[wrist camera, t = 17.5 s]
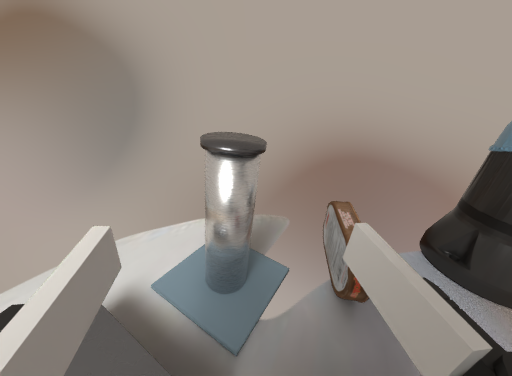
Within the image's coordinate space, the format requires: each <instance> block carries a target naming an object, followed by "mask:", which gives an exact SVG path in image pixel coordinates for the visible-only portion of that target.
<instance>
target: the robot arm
mask: <svg viewBox="0 0 512 376" xmlns="http://www.w3.org/2000/svg"><path fill="white" fill-rule="evenodd" d="M489 150H490V151H491V152H490V153H489V155H488V156H487V158H486V159H485V161H484V163H483V164H482V166H481V167H480V169H479V170H478V172H477V174H476V175H475V177H474V178H473V180H472V182H471V183H470V185H469V186H468V188H467V189H466V191H465V193H464V194H463V196H462V198H461V199H460V201H459V203H458V204H457V206H456V207H455V208H454V209H453V210H452V211H450V212H449V213H448V214H447V215H445V216H444V217H443V218H441V219H440V220H439V221H437V222H436V223H435V224H433V225H432V226H431V227H430V228H428V229H427V230H426V232H425V233H424V235H423V237H422V238H421V241H420V248H421V250H422V252H423V254H424V255H425V256H426V258H427V259H428V260H429V261H430V262H431V263H432V264H433V265H434V266H435V267H436V268H437V269H439V270H440V271H441V272H442V273H444V274H445V275H446V276H448V277H449V278H450V279H452V280H453V281H455V282H456V283H458V284H460V285H461V286H463V287H465V288H466V289H468V290H470V291H472V292H474V293H476V294H477V295H479V296H482V297H484V298H486V299H488V300H490V301H493V302H495V303H498V304H500V305H503V306H506V307H509V308H512V121H511V122H510V123H509V124H508V125H507V126H506V128H505V129H504V131H503V132H502V133H501V135H500V136H499V138H498V139H497V141H496V142H495V144H494V145H492V146H491V147H490V148H489ZM343 259H344V261H345V262H346V264H347V265H348V267H349V268H350V270H351V271H352V273H353V274H354V276H355V277H356V278H357V280H358V281H359V283H360V284H361V286H362V287H363V289H364V290H365V292H366V293H367V295H368V296H369V298H370V299H371V301H372V302H373V304H374V305H375V307H376V308H377V310H378V311H379V313H380V314H381V316H382V317H383V319H384V320H385V322H386V323H387V325H388V326H389V328H390V329H391V331H392V332H393V333H394V335H395V336H396V338H397V339H398V341H399V342H400V344H401V345H402V347H403V348H404V350H405V351H406V353H407V354H408V356H409V357H410V359H411V360H412V362H413V363H414V365H415V366H416V368H417V369H418V371H419V372H420V374H421V375H422V376H512V352H507V351H505V350H504V349H503V348H502V347H501V346H500V345H498V344H497V343H496V342H495V341H494V340H493V339H492V338H491V337H490V336H489V335H488V334H487V333H486V332H485V331H484V330H483V329H482V328H481V327H480V326H479V325H478V324H477V323H476V322H475V321H473V320H472V319H471V318H470V317H469V316H468V315H467V314H466V313H465V312H464V311H463V310H462V309H460V308H459V306H458V305H457V304H456V303H455V302H454V301H453V300H450V297H449V296H447V295H446V294H445V293H444V292H443V291H442V290H441V289H440V288H439V287H438V286H437V285H435V284H434V283H432V282H431V281H429V280H428V279H426V278H422V277H421V276H420V275H419V274H418V273H417V272H416V271H415V270H414V269H413V268H412V267H411V266H410V265H409V264H408V263H407V262H406V261H405V260H404V259H403V258H402V257H401V256H400V255H399V254H398V253H397V252H396V251H395V250H393V248H392V247H391V246H390V245H389V244H388V243H387V242H386V241H385V240H384V239H383V238H382V237H381V236H380V235H379V234H378V233H376V231H375V230H374V229H373V228H372V227H370V225H368V223H355V226H354V228H353V231H352V234H351V236H350V239H349V242H348V244H347V247H346V250H345V252H344V255H343ZM120 269H121V263H120V259H119V256H118V252H117V248H116V244H115V241H114V237H113V233H112V230H111V226H93V227H92V228H91V229H90V230H89V231H88V233H87V234H86V235H85V236H84V237H83V238H82V239H81V241H80V242H79V243H78V244H77V245H76V246H75V247H74V249H73V250H72V251H71V252H70V253H69V254H68V255H67V257H66V258H65V259H64V260H63V261H62V262H61V263H60V265H59V266H58V267H57V268H56V269H55V270H54V271H53V273H52V274H51V275H50V276H49V277H48V278H47V280H46V281H45V282H44V283H43V284H42V285H41V286H40V288H39V289H38V290H37V291H36V292H35V293H34V294H33V296H32V297H31V298H30V299H29V300H28V301H27V302H26V304H18V305H11V306H10V307H8V308H7V309H6V310H4V311H3V312H1V313H0V376H64V374H65V372H66V370H67V369H68V367H69V365H70V363H71V361H72V359H73V357H74V355H75V354H76V352H77V350H78V348H79V346H80V344H81V342H82V340H83V339H84V337H85V335H86V333H87V331H88V329H89V327H90V325H91V324H92V322H93V320H94V318H95V316H96V314H97V312H98V310H99V308H100V307H101V305H102V303H103V301H104V299H105V297H106V295H107V293H108V292H109V290H110V288H111V286H112V284H113V282H114V280H115V278H116V277H117V275H118V273H119V271H120Z"/></svg>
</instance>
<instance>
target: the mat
mask: <svg viewBox="0 0 512 376" xmlns="http://www.w3.org/2000/svg"><path fill="white" fill-rule="evenodd" d="M288 271H289V268H287V267H286V266H283V265H282V264H280V263H278V262H276V261H274V260H272V259H270V258H268V257H266V256H264V255H262V254H260V253H258V252H257V251H255V250H253V249H251V248H250V250H249V258H248V267H247V275H246V281H245V284H244V285H243V287H242V288H241V289H239V290H238V291H236V292H234V293H231V294H219V293H216V292H214V291H212V290H211V289H210V288H209V287H208V286H207V284H206V281H205V244H204V245H203V246H202V247H201V248H199V249H198V250H197V251H195V252H194V253H193V254H191V255H190V256H189V257H187V258H186V259H185V260H183V261H182V262H181V263H179V264H178V265H177V266H175V267H174V268H173V269H172V270H170V271H169V272H168V273H166V274H165V275H164V276H162V277H161V278H160V279H158V280H157V281H156V282H154V283H153V284H152V285H151V288H152V289H153V290H155V291H156V292H157V293H158V294H160V295H161V296H162V297H163V298H164V299H166V300H167V301H168V302H169V303H171V304H172V305H173V306H174V307H176V308H177V309H178V310H179V311H181V312H182V313H183V314H184V315H186V316H187V317H188V318H189V319H190V320H192V321H193V322H194V323H195V324H197V325H198V326H199V327H200V328H202V329H203V330H204V331H205V332H207V333H208V334H209V335H210V336H212V337H213V338H214V339H215V340H216V341H218V342H219V343H220V344H221V345H223V346H224V347H225V348H226V349H228V350H229V351H230V352H231V353H233V354H234V355H235V356H237V354H238V353H239V351H240V349H241V348H242V346H243V345H244V343H245V341H246V340H247V338H248V336H249V335H250V333H251V332H252V330H253V328H254V327H255V325H256V323H257V322H258V320H259V319H260V317H261V315H262V314H263V312H264V310H265V309H266V307H267V306H268V304H269V302H270V301H271V299H272V297H273V296H274V294H275V293H276V291H277V289H278V288H279V286H280V285H281V283H282V281H283V280H284V278H285V276H286V275H287V273H288Z"/></svg>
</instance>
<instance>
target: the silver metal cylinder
mask: <svg viewBox="0 0 512 376" xmlns="http://www.w3.org/2000/svg"><path fill="white" fill-rule="evenodd" d="M200 140H201V141H200V142H201V143H200V145H201V147H202V148H203V149H205V281H206V284H207V286H208V287H209V288H210V289H211V290H212V291H214V292H216V293H219V294H231V293H234V292H236V291H238V290H239V289H241V288H242V287H243V285H244V284H245V281H246V275H247V267H248V258H249V250H250V241H251V233H252V224H253V216H254V207H255V199H256V190H257V182H258V174H259V165H260V156H261V154H262V153H264V152H265V151H266V141H265V140H263V139H261V138H259V137H256V136H252V135H248V134H242V133H232V132H214V133H207V134H204V135H202V136H201V137H200Z"/></svg>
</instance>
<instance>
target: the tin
mask: <svg viewBox="0 0 512 376" xmlns="http://www.w3.org/2000/svg"><path fill="white" fill-rule="evenodd" d="M355 223H361V222H360V220H359V218H358V216H357V214H356V212H355V210H354V208H353V206H352V204H351V203H350V202H338V201H332V202H330V203H329V204H328V207H327V213H326V218H325V222H324V225H323V243H324V249H325V254H326V259H327V264H328V268H329V273H330V278H331V282H332V286H333V289H334V292H335V293H336V295H337V296H338V297H340V298H342V299H347V300H354V301H358V302H360V303H363V302H366V301H367V300H368V299H369V296H368V295H367V293H366V292H365V290H364V289H363V287H362V286H361V284H360V283H359V281H358V280H357V278H356V277H355V276H354V274H353V273H352V271H351V270H350V268H349V267H348V265H347V264H346V262H345V261H344V259H343V255H344V252H345V250H346V247H347V244H348V242H349V239H350V236H351V234H352V231H353V228H354V226H355Z"/></svg>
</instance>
